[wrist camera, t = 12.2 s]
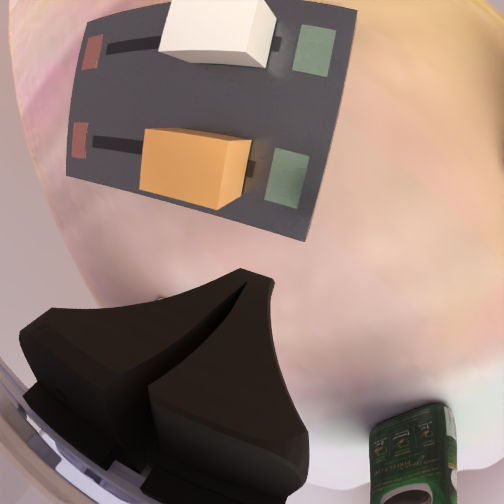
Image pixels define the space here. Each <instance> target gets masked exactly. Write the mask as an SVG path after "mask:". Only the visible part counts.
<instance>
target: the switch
mask: <svg viewBox="0 0 504 504" xmlns="http://www.w3.org/2000/svg"><path fill="white" fill-rule="evenodd" d="M275 24H276V17H275V16H274V14H273V13H272V11H271V10H270V8H269V7H268V5H267V4H266V2H265V1H264V0H172V2H171V5H170V9H169V12H168V16H167V19H166V23H165V26H164V30H163V34H162V38H161V42H160V46H159V50H158V52H161V53H164V54H167V55H170V56H173V57H176V58H178V59H181V60H184V61H186V62H189V63H212V64H229V65H241V66H251V67H260V68H266V64H267V59H268V55H269V50H270V46H271V41H272V37H273V32H274V28H275Z"/></svg>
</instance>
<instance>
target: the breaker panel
mask: <svg viewBox="0 0 504 504" xmlns="http://www.w3.org/2000/svg"><path fill="white" fill-rule="evenodd" d="M264 1H265V2H266V4H267V5H268V7H269V8H270V10H271V11H272V13H273V14H274V16H275V17H276V24H275V28H274V32H273V37H272V41H271V46H270V50H269V55H268V59H267V64H266V68H260V67H251V66H241V65H229V64H212V63H189V62H186V61H184V60H181V59H178V58H176V57H173V56H170V55H167V54H164V53H161V52H158V50H159V46H160V42H161V38H162V34H163V30H164V26H165V23H166V19H167V16H168V12H169V9H170V5H171V2H168V3H162V4H156V5H151V6H146V7H141V8H136V9H132V10H128V11H124V12H120V13H116V14H112V15H109V16H105V17H102V18H99V19H96V20H93V21H90V22H88V23H87V26H86V30H85V33H84V37H83V41H82V45H81V49H80V54H79V58H78V63H77V68H76V73H75V79H74V85H73V91H72V98H71V106H70V114H69V124H68V137H67V156H66V176H70V177H74V178H78V179H82V180H86V181H90V182H94V183H98V184H102V185H106V186H110V187H114V188H117V189H121V190H125V191H129V192H133V193H136V194H140V195H144V196H148V197H151V198H155V199H159V200H162V201H166V202H170V203H173V204H177V205H180V206H184V207H188V208H191V209H195V210H198V211H202V212H205V213H209V214H212V215H216V216H219V217H223V218H226V219H230V220H233V221H236V222H240V223H243V224H247V225H250V226H253V227H257V228H260V229H263V230H267V231H270V232H273V233H277V234H280V235H283V236H287V237H290V238H293V239H296V240H299V241H303V242H305V240H306V238H307V235H308V232H309V228H310V225H311V221H312V218H313V214H314V210H315V207H316V203H317V199H318V196H319V192H320V188H321V184H322V180H323V177H324V173H325V169H326V165H327V161H328V157H329V153H330V149H331V144H332V140H333V136H334V132H335V127H336V123H337V119H338V114H339V110H340V105H341V101H342V96H343V91H344V86H345V81H346V76H347V71H348V66H349V61H350V56H351V50H352V45H353V39H354V34H355V28H356V22H357V10H354V9H349V8H345V7H340V6H335V5H329V4H323V3H317V2H310V1H303V0H264ZM151 128H183V129H190V130H197V131H204V132H210V133H216V134H222V135H228V136H233V137H238V138H244V139H249V140H252V141H251V146H250V151H249V156H248V161H247V166H246V172H245V177H244V182H243V187H242V193H241V196H240V197H239V198H237V199H235V200H233V201H232V202H230V203H228V204H227V205H225V206H223V207H222V208H220V209H218V210H215V209H211V208H208V207H204V206H200V205H197V204H193V203H189V202H186V201H182V200H178V199H175V198H171V197H167V196H163V195H159V194H156V193H152V192H148V191H144V190H140V189H139V187H140V173H141V162H142V152H143V143H144V135H145V129H151Z"/></svg>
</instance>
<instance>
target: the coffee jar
mask: <svg viewBox="0 0 504 504" xmlns="http://www.w3.org/2000/svg"><path fill="white" fill-rule="evenodd" d="M369 459H370V481H371V491H370V504H457V436H456V426H455V420H454V415H453V413H452V411H451V410H450V409H449V408H448V407H447V406H445V405H440V404H431V405H427V406H424V407H421V408H418V409H415V410H412V411H410V412H407V413H405V414H402V415H399V416H397V417H394V418H392V419H389V420H387V421H385V422H382V423H380V424H379V425H377V426H376V427H375V428H374V429H373V430H372V432H371V433H370V436H369Z"/></svg>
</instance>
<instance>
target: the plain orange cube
mask: <svg viewBox="0 0 504 504" xmlns="http://www.w3.org/2000/svg"><path fill="white" fill-rule="evenodd" d="M251 141H252V140H249V139H244V138H238V137H233V136H228V135H222V134H216V133H210V132H204V131H197V130H190V129H183V128H151V129H145V135H144V143H143V152H142V162H141V173H140V187H139V189H140V190H144V191H148V192H152V193H156V194H159V195H163V196H167V197H171V198H175V199H178V200H182V201H186V202H189V203H193V204H197V205H200V206H204V207H208V208H211V209H215V210H218V209H220V208H222V207H223V206H225V205H227V204H228V203H230V202H232V201H233V200H235V199H237V198H239V197H240V196H241V193H242V187H243V182H244V177H245V172H246V166H247V161H248V156H249V151H250V146H251Z"/></svg>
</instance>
